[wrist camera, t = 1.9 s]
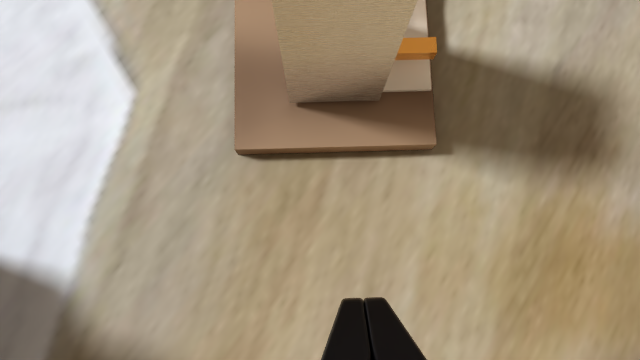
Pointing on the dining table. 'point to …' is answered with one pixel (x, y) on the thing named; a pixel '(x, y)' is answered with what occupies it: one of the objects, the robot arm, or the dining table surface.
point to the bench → (324, 117)
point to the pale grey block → (344, 46)
